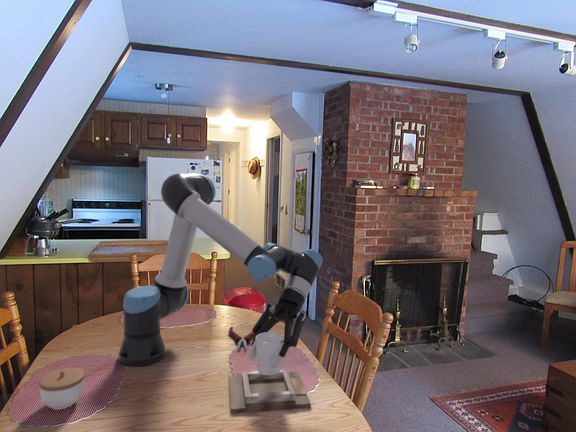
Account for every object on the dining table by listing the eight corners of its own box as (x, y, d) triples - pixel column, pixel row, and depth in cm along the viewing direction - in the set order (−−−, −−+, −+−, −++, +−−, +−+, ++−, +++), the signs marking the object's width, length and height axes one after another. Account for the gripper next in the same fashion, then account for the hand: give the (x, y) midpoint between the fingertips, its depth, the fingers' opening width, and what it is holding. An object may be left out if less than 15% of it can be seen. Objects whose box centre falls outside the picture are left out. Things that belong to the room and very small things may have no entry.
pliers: (225, 353, 144) (225, 346, 144) (229, 331, 164) (229, 325, 164) (257, 353, 145) (258, 346, 145) (257, 331, 165) (257, 325, 165)
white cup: (286, 366, 120) (286, 334, 119) (276, 378, 113) (277, 344, 112) (261, 362, 123) (262, 330, 122) (251, 374, 115) (251, 340, 114)
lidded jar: (80, 412, 106) (79, 378, 105) (34, 418, 103) (33, 383, 102) (88, 391, 116) (87, 360, 115) (46, 395, 113) (45, 364, 112)
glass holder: (230, 413, 108) (230, 402, 107) (228, 379, 125) (228, 369, 125) (310, 407, 112) (311, 396, 111) (297, 375, 129) (298, 365, 129)
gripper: (327, 306, 123) (296, 378, 111) (273, 293, 134) (240, 357, 123) (319, 293, 118) (285, 367, 106) (264, 281, 129) (228, 346, 118)
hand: (261, 362), depth 115 cm, fingers closed on white cup, 8 cm apart
